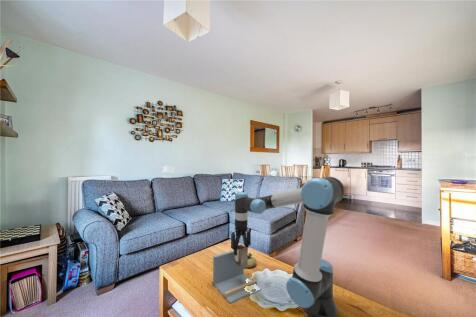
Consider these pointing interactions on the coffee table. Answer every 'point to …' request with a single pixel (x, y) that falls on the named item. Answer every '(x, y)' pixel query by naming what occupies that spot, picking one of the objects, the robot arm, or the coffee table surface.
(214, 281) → the bracket
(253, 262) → the acorn cap
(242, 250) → the cabinet block
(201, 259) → the coffee table surface
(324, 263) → the robot arm
